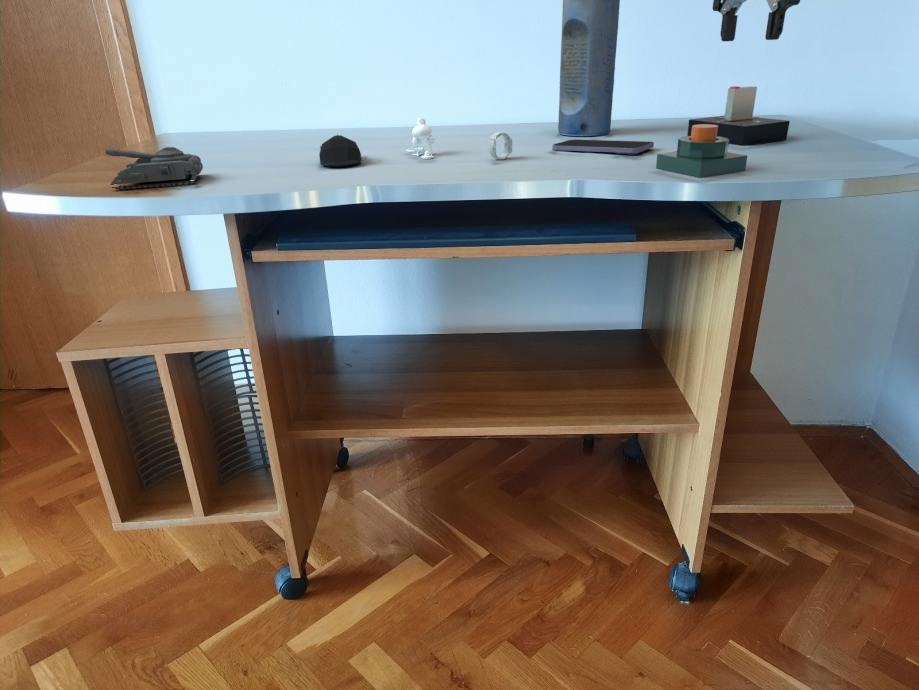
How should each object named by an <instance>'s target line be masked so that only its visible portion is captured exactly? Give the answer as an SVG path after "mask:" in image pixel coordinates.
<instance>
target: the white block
mask: <svg viewBox="0 0 919 690" xmlns="http://www.w3.org/2000/svg"><path fill="white" fill-rule="evenodd" d="M757 91H758V86H753V85H751V86H730V87H729V88H728V89H727V96H726V104H725V109H724V111H725V112H724V116H725V117H724V121H738V120H747V119H752V117H754V110H755V103H756V97H757Z"/></svg>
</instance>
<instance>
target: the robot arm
mask: <svg viewBox="0 0 919 690" xmlns="http://www.w3.org/2000/svg"><path fill="white" fill-rule="evenodd" d="M747 1H748V0H713V2H712V11H713V12H718V13H719V14H721V16H722V17H721V26H720V33H719V35H720V40H721V41H722V42H733V41H735V38H736V32H737V24H738V16H739V15H738V14H737V13H738V11H739V10H740V9H741V7H742V5H743V4H744V3H745V2H747ZM766 2H767V5H768V7H769V9H770V11H769V12H768V17H767V23H766V31H765V37H764V38H765V40H766V41H776V40H777V41H778V40H779V39H780V37H781V35H782V33H783V31H784V23H785V18H786V12H787V10H789V9H790V8H792V7H794V6H797V5H799V4H800V3H801V0H766Z"/></svg>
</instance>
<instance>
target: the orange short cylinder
mask: <svg viewBox="0 0 919 690" xmlns="http://www.w3.org/2000/svg"><path fill="white" fill-rule="evenodd" d="M717 132H718V126H717V125H711V124H698V125H693V126H692V131H691V140H693V141H716V139H717Z"/></svg>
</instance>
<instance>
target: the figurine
mask: <svg viewBox="0 0 919 690" xmlns="http://www.w3.org/2000/svg"><path fill="white" fill-rule="evenodd" d="M415 124H416V125H415V126H414V127H413V129H412V131H411V135H412V139H411V141H412V144H413V146H416V147H409V148H406V152H407V153H411V156H417V157H419V156H421V159H423V160H430V159H433V158H434V155H436V154H437V152H433V150H432V145H434V144H435V143H436V139H435V136H434V135H432V133H433V130H432V128H431V127H430V126H429V125H427V124H426V119H425V118H423V117H418V118H417V119H416V121H415ZM423 141H425V143H426V144H427V145H428V146H429V150H426V151H424V147H419V146H420V145H421V144H422V142H423ZM419 152H420V153H419ZM423 152H424V154H423Z"/></svg>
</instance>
